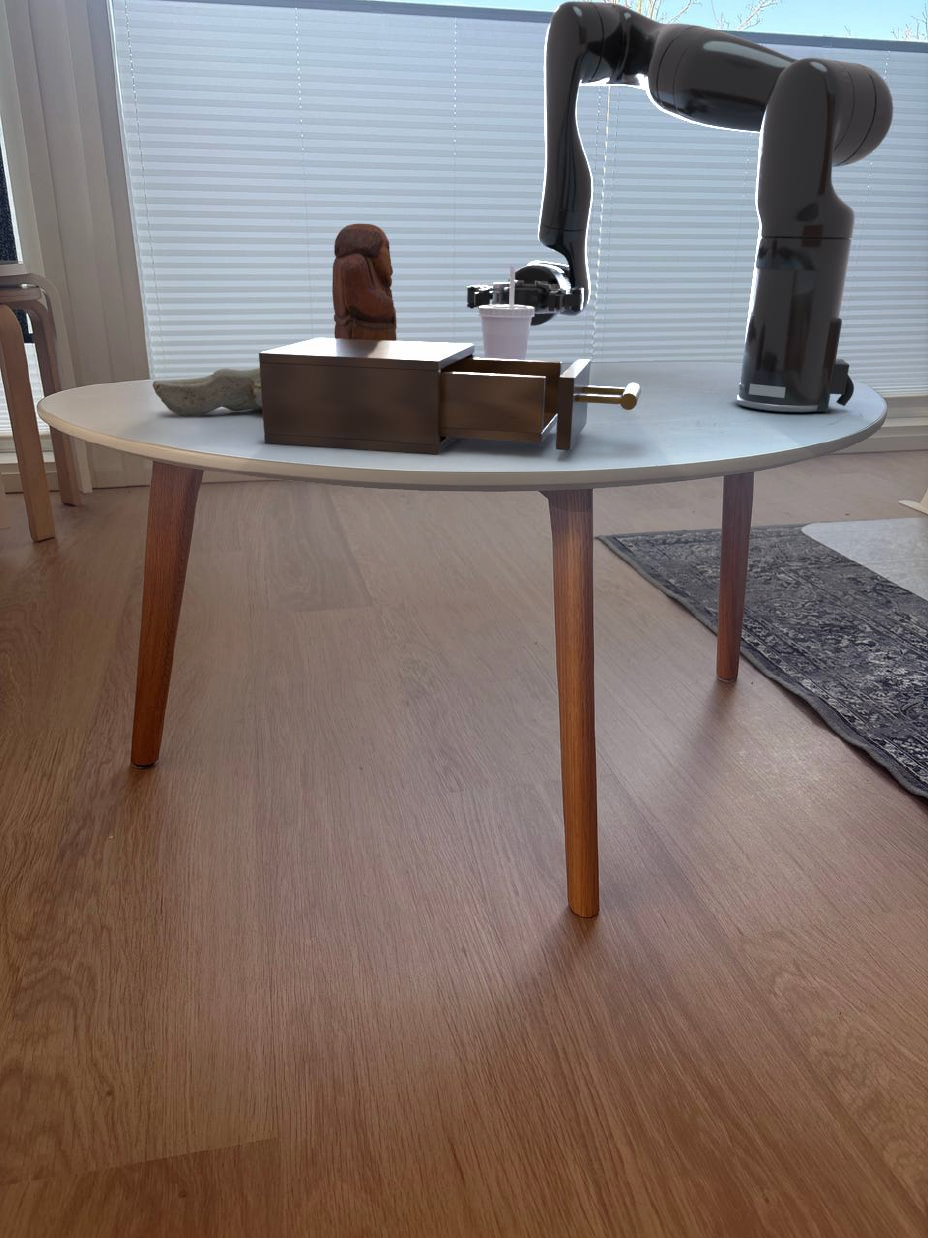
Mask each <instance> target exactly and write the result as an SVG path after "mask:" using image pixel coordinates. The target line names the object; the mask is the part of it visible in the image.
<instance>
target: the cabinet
mask: <svg viewBox="0 0 928 1238" xmlns="http://www.w3.org/2000/svg"><path fill="white" fill-rule="evenodd" d="M463 358H475V344H474V343H455V342H432V341H410V340H409V341H407V340H406V341H405V340H397V341H385V340H361V339H336V338H335V337H315V338H311V339H308V340H304V341H300V342H296V343H292V344H288V345H284V346H281V347H277V348H273V349H268V350H264V351H261V352H260V351H259V352H258V363H259V368H260V380H261V395H262V409H261V410H262V423H263V425H262V426H263V433H264V434H263V437H264V438H263V439H264V440H263V441H264V444H276V445H289V446H304V447H305V446H307V447H322V448H337V449H353V450H365V451H367V450H368V451H381V452H396V453H397V452H399V453H411V454H428V455H439V454H440V453H441V452H442V451H443V450H445V449H446V448H447V447H448V446H450V445H451V444H452V443H454V441H456V440H457V439H458V438H450V437H440V384H441V371H440V370H441V369H443V368H445V367H447V366H449V365H451V364H453V363H455V362H457V361H459V360H461V359H463Z"/></svg>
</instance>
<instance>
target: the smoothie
mask: <svg viewBox="0 0 928 1238" xmlns="http://www.w3.org/2000/svg"><path fill="white" fill-rule="evenodd" d="M515 272H516V265H510V266H509V278H510V292H509V305H483V306H479V309H478V313H477V314H478V315H477V316H479V317H480V320H481V322H480V323H481V333H482V342H483V352H484V353H483V355H484V358H487V359H510V360H526V357H527V350H528V344H529V337H530V331H531V326H530V325H531V319H532V317H534V307H531V306H523V305H514V290H515Z"/></svg>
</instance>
